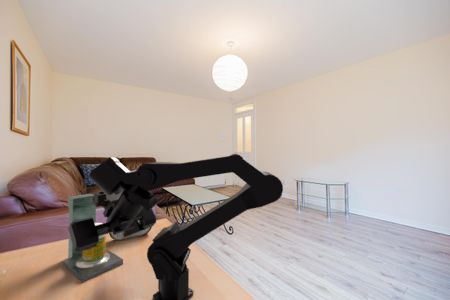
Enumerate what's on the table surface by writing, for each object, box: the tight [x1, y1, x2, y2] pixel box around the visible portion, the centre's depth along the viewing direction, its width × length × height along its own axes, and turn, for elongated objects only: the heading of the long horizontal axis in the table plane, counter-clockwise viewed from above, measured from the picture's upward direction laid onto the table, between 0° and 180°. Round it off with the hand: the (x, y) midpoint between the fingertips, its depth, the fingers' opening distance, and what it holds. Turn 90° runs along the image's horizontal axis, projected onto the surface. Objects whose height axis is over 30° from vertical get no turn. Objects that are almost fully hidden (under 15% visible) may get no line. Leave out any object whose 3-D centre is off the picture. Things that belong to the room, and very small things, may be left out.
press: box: [63, 193, 124, 283], centre depth 59 cm, size 24×10×18 cm, turn 55°
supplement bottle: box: [82, 222, 107, 264], centre depth 56 cm, size 5×5×10 cm
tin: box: [108, 226, 153, 241], centre depth 74 cm, size 15×3×8 cm, turn 124°
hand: (106, 241), depth 52 cm, fingers open, 9 cm apart
